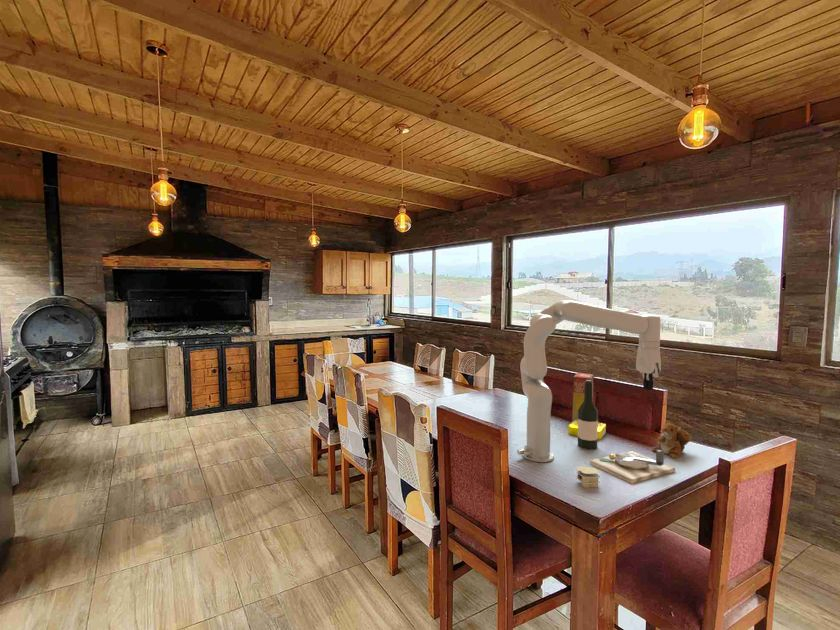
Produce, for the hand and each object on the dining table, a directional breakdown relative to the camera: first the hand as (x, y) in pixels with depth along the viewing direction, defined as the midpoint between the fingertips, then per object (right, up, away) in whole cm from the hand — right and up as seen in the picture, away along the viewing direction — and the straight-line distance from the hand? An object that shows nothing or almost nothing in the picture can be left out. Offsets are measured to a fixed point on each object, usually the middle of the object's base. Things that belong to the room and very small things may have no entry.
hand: (648, 389), depth 169 cm
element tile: (-12, -28, +33) cm, 45 cm away
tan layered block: (-34, -31, -22) cm, 51 cm away
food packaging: (-7, -27, +52) cm, 59 cm away
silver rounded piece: (-10, -28, -9) cm, 31 cm away
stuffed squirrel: (+15, -29, +7) cm, 33 cm away
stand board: (-11, -30, -8) cm, 33 cm away
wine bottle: (-19, -29, +15) cm, 37 cm away
